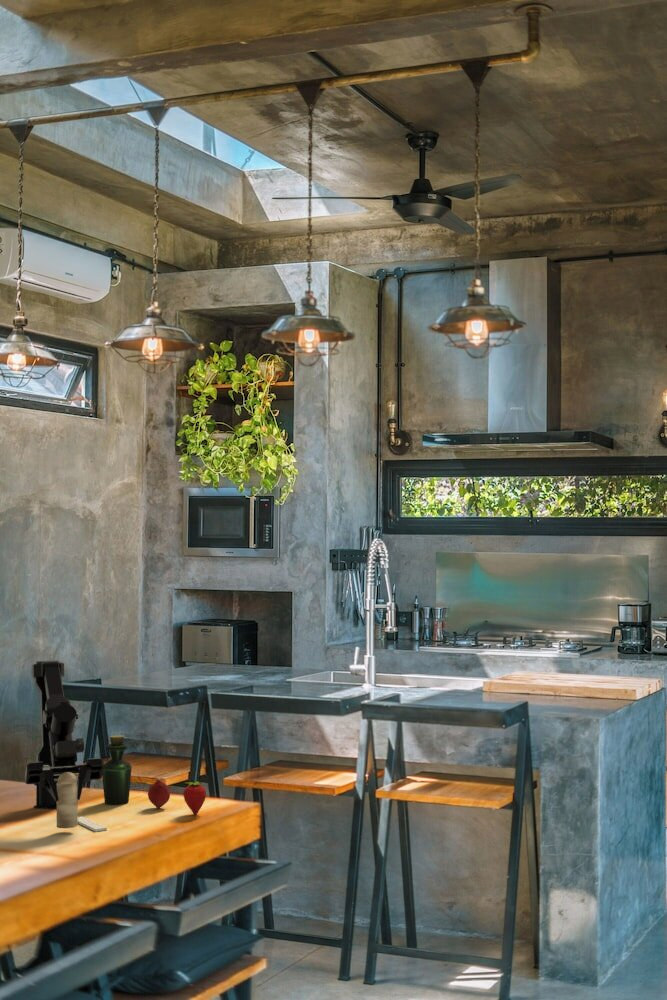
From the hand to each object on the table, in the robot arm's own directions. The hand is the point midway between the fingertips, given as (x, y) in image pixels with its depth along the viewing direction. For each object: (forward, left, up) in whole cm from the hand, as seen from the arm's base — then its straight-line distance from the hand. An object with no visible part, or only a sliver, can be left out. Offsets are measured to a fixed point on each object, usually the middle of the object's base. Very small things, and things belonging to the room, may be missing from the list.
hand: (67, 799), depth 294 cm
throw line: (+1, +10, -8) cm, 13 cm away
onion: (+11, +33, -8) cm, 36 cm away
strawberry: (+23, +27, -8) cm, 37 cm away
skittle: (-1, +1, -7) cm, 7 cm away
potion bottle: (-3, +38, -8) cm, 39 cm away
